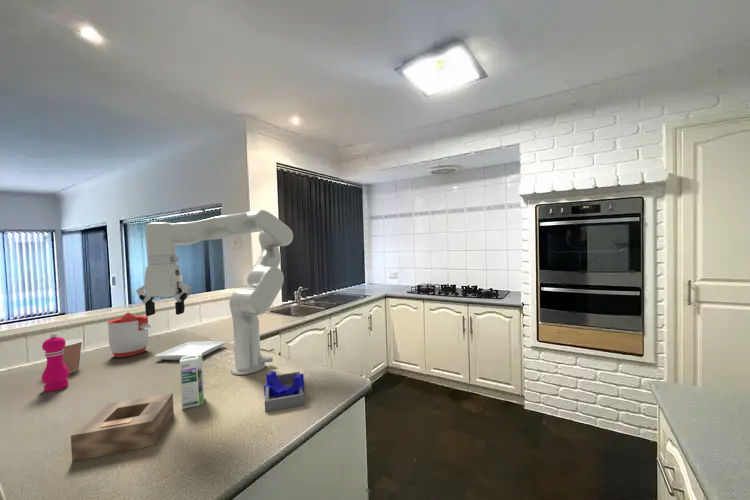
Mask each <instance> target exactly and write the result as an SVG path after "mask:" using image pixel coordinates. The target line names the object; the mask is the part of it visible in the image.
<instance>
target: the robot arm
mask: <svg viewBox="0 0 750 500" xmlns="http://www.w3.org/2000/svg"><path fill="white" fill-rule="evenodd" d="M257 232H259V234H258V242H259V244H260V250H261V252H260V256H259V258H258V259H257V261H256V263H255V264H254V265H253V267H252V268H251V270H250V272H249V273H248V276H247V278H246V282H247V283H246V284H247V285H248V286H249V288H239V289H237V290H235V291H234V292H232V293H231V296H230V298H229V302H228V303H229V310H230V314H231V319H232V328H233V334H232V335H233V346H234V347H233V348H234V349H233V350H234V365H233V366H232V367H230V373H231V374H233V375H239V376H243V375H250V374H254V373H257V372H260V371H262V370H263V369H265V367H266V363H273V360H274V359H273V358H274V357H273V356H270V355H266V356H264V355H263V353H261V339H260V338H261V337H260V336H261V335H260V321H259V317H258V316H261V315H264V314H266V312H268V311H269V309H271V306H272V305H273V303H274V302H275V299H276V298H277V296H278V294H279V292H280V291H281V289H282V287H283V285H284V281H285V279H284V278H285V277H284V273H283V271H282V269H280V268H279V265H280V263H281V259H282V258H281V257H282V256H281V252H280V249H279V247H286V246H289V245H290V244H291V243H292V242H293V239H294V234H293V233H294V232H293V231H292V229H291V228H290V227H289V226H288V225H287V224H285V223H284V222H283V221H282V220H280V219H279V218H278V217H277V216H275V215H274V214H273V213H271V212H269V211H267V210H265V209H257V210H252V211H245V212H238V213H231V214H224V215H218V216H213V217H210V218H206V219H201V220H195V221H188V222H187V221H186V222H176V223H175V222H174V223H173V222H172V223H171V222H166V221H165V222H164V221H163V222H162V221H159V222H156V221H154V222H150V223H149V222H148V223H147V224H146V225H145V240H146V243H145V244H146V256H147V257H146V260H147V266H146V267H145V273H144V285H142V286H141V287H139V288H137V289H136V291H135V292H136V294H137V296H138V297H139V300H141V301H142V303H143V305H145V307H144V308H145V309H144V310H145V315H146V316H148V317H150V316H154V315H155V314H156V307H155V306H156V305H155V304H156V303H155V301H154V300H155V299H156V298H166V297H167V298H168V297H170V298H171V297H172V298H174V300H175V303H174V304H175V306H174V307H175V315H177V316H179V315H181V314H184V313H185V301H186V299H188V296H190V293H191V290H192V286H190V285H187V284H186V283H184V280H183V273H182V271H181V267H180V264H177V262H179V261H180V258H179V256H177V255H176V246H186V245H187V246H188V245H194V244H196V243H198V242H202V241H209V240H222V239H227V238H228V239H230V238H233V237H234V238H235V237H238V236H242V235H247V234H252V233H257Z"/></svg>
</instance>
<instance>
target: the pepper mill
mask: <svg viewBox="0 0 750 500" xmlns="http://www.w3.org/2000/svg"><path fill="white" fill-rule="evenodd" d="M65 341H66V340H65V339H64V338H63V337H60V336H58V334H57V333H55V332H54V333H51V334H50V336H49V338H48V339H46V340H44V341H43V342H42V345H41V349H42V350H43V351H44V357H45V358H46V366H45V368H44V370H43V373H42V374H41V382H42V383H43V384H45V385H44V386H43V391H44V392H54V391H58V390H62V389H65V388H67V387H68V386H69V380H68V378H69V376H70V374H71V373H69V369H68V368H67V366H66V365H65V363H64V361H63V353H64V349H63V347H64V346H65V344H66V342H65Z"/></svg>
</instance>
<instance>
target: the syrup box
mask: <svg viewBox="0 0 750 500" xmlns="http://www.w3.org/2000/svg"><path fill="white" fill-rule="evenodd" d="M203 365H204V364H203V357H202V354H197V355H190V356H183V357H182V358H181V360H179V378H180V396H181V401H180V403H181V410H184V409H188V408H193V407H194V408H195V407H198V406H199V407H200V406H203V404H204V399H205V387H204V384H205V383H204V366H203Z"/></svg>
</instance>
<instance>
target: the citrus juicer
mask: <svg viewBox="0 0 750 500" xmlns="http://www.w3.org/2000/svg"><path fill="white" fill-rule="evenodd" d="M106 323H107V326H108V328H107V331H108V342H109V347H110V350H111V352H112V354H113V356H114V357H115V358H127V357H134V356H135V355H139V354H142V353H144V352H145V351H146V349H147V345H148V342H149V329H151V325H150V324H149V316H146V314H145V315H144V314H142V315H134V314H132V313H131V312H125V314H124V315H123V316H122V317H118V318H113V319H110V320H107V322H106Z"/></svg>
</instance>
